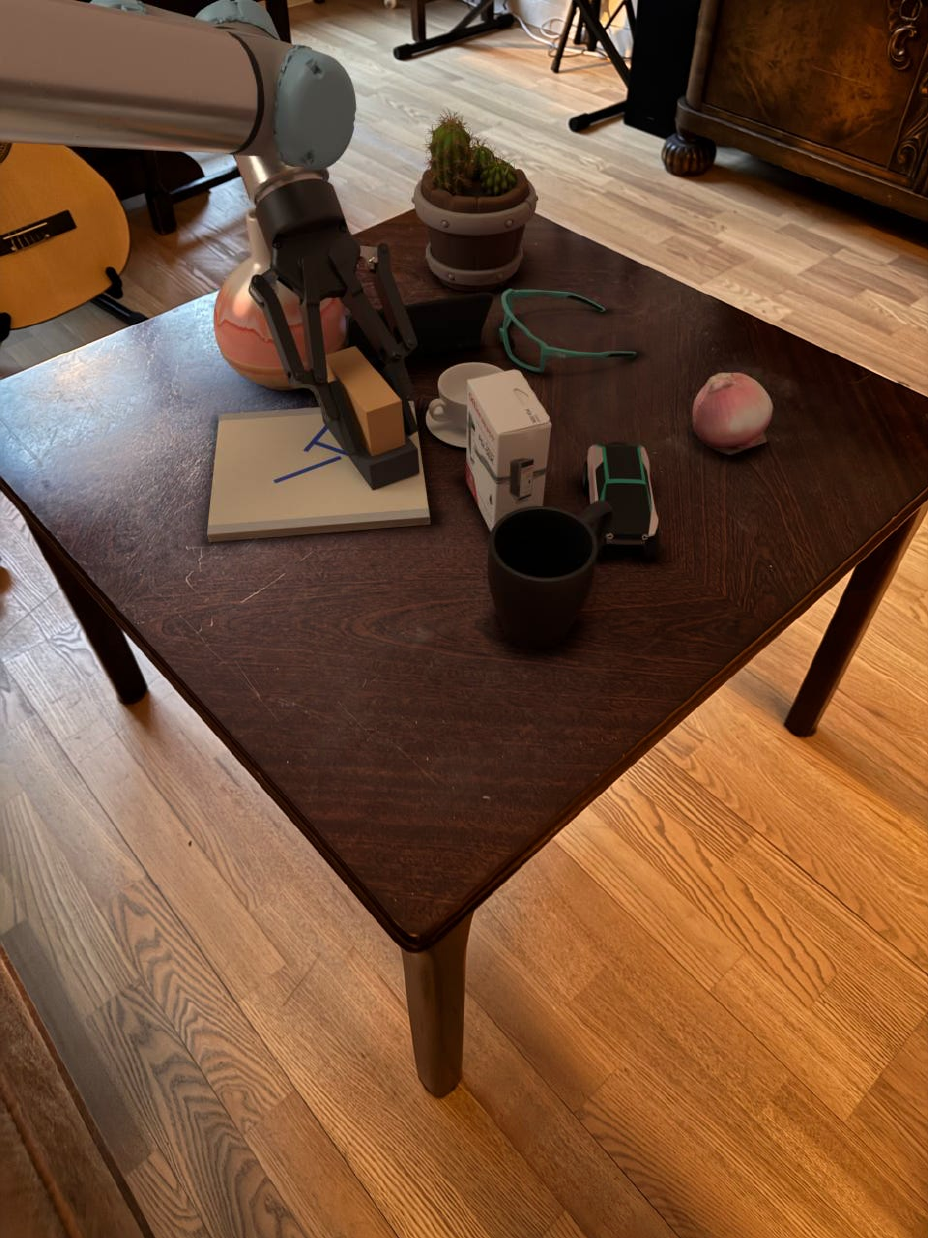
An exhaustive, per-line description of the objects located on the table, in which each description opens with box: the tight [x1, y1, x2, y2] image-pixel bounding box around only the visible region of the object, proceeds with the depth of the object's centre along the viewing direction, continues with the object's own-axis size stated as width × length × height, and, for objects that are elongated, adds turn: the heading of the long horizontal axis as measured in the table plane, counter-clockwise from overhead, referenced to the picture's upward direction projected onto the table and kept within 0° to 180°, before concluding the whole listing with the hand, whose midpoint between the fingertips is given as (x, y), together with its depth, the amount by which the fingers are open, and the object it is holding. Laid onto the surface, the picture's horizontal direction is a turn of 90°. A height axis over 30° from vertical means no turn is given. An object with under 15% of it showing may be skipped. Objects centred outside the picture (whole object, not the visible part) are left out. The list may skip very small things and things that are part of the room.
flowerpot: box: [410, 107, 539, 293], centre depth 103 cm, size 14×15×20 cm
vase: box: [212, 207, 346, 392], centre depth 89 cm, size 14×14×18 cm
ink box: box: [465, 368, 552, 532], centre depth 77 cm, size 9×5×12 cm, turn 18°
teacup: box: [425, 361, 505, 449], centre depth 88 cm, size 10×10×5 cm
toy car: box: [582, 441, 661, 559], centre depth 79 cm, size 6×12×5 cm, turn 178°
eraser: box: [321, 346, 420, 490], centre depth 82 cm, size 5×12×8 cm, turn 29°
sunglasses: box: [498, 288, 637, 373], centre depth 99 cm, size 14×15×5 cm
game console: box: [343, 291, 494, 365], centre depth 96 cm, size 16×14×9 cm
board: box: [206, 400, 431, 543], centre depth 84 cm, size 20×18×1 cm
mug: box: [487, 500, 613, 651], centre depth 69 cm, size 8×12×10 cm
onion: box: [692, 372, 774, 456], centre depth 86 cm, size 8×8×7 cm
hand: (383, 442), depth 81 cm, fingers closed on eraser, 5 cm apart
